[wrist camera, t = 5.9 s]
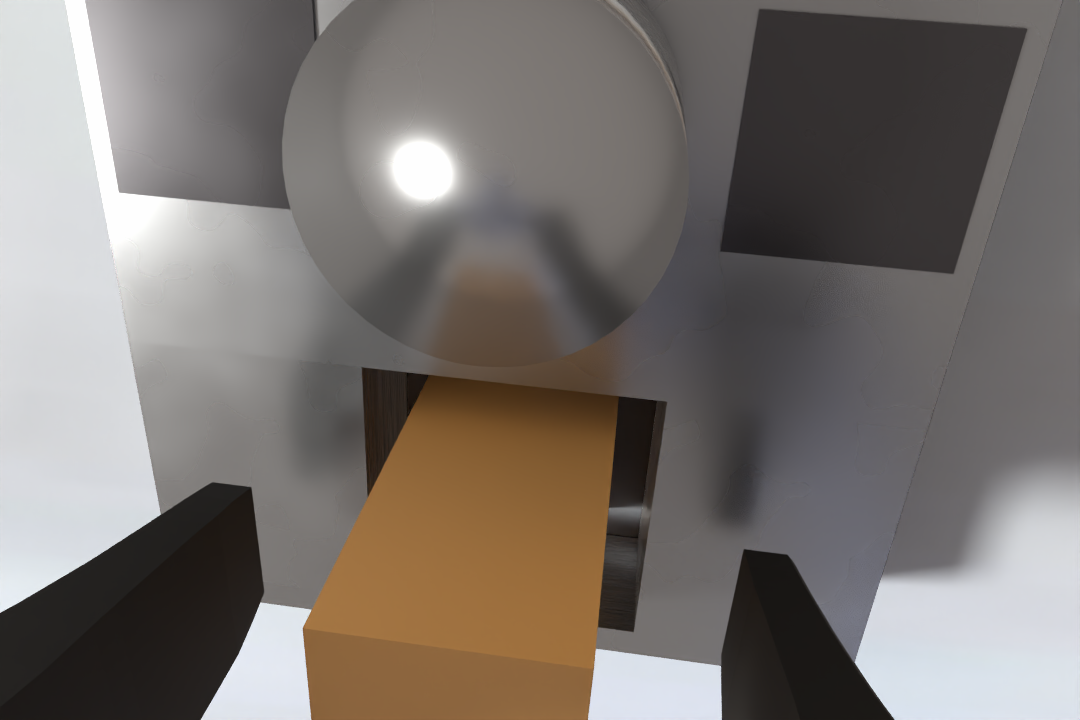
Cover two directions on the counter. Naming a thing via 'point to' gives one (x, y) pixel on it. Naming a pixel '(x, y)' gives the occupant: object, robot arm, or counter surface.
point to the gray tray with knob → (560, 254)
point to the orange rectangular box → (472, 563)
